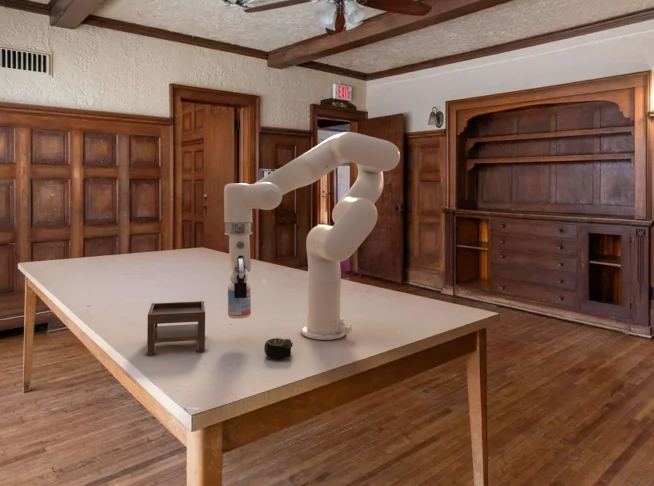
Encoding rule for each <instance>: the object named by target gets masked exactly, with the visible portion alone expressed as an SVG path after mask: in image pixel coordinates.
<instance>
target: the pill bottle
mask: <svg viewBox="0 0 654 486" xmlns="http://www.w3.org/2000/svg"><path fill="white" fill-rule="evenodd" d="M237 275H238V274H237ZM229 277H230V278H229V280H230V282H231V283H229V284H228V286H227V315H228V317H229V318H231V319H236V320H237V319H240V320H241V319H246V318H249V317H250V316H251V313H252V310H251V309H252V308H251V305H252V304H251V302H252V301H251V285H250V284H249V282H247V281H248V278H249V277H248V274H247V273H246V283H247V297H246V298H235V297H234V283H235V274H233V273H232V274H230V275H229Z"/></svg>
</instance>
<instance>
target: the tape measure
mask: <svg viewBox="0 0 654 486" xmlns="http://www.w3.org/2000/svg"><path fill="white" fill-rule="evenodd" d="M293 344H294V343H293V342H292V340H291V339H289V338H286V339H284V338H281V337H275V338H274V337H273V338H270V339H267V340H266V341H265V343H264V349H263V350H264V353H265V356H266V357H268V358H271V359H287V358H290V357H291V355H292V348H293V346H294V345H293Z"/></svg>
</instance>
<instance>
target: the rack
mask: <svg viewBox="0 0 654 486" xmlns="http://www.w3.org/2000/svg"><path fill="white" fill-rule="evenodd" d="M181 323H186V324H181ZM187 323H189V324H187ZM162 324H164V325H162ZM165 324H166V325H165ZM167 324H168V325H167ZM170 324H171V325H170ZM146 330H147V331H146V333H147V336H146V337H147V338H146V339H147V341H146V344H147V347H146V350H147V351H146V356H155V346H156V345H155V344H157V343H173V342H188V341H189V342H190V341H198V343H197V344H198V348H197V349H198V350H197V351H198V353H205V352H206V307H205V301H204V300H200V301H197V300H196V301H176V302H175V301H174V302H151V304H150V307H149V309H148V313H147V329H146Z"/></svg>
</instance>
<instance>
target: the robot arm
mask: <svg viewBox="0 0 654 486" xmlns="http://www.w3.org/2000/svg"><path fill="white" fill-rule="evenodd" d="M400 160H401V153H400V150H399V148H398V147H397V146H396V144H394V143H393V142H391V141H390V140H386V139H382V138H378V137H374V136H369V135H366V134H362V133H360V132H359V133H358V132H354V131H345V132H341V133H337V134H334V135H332V136H330V137H328V138H327V139H325V140H324V141H321V143H318V144H317V145H316V146H314V147H312V148H311V149H309V150H308V151H306V152H304V153H302V154H301V155H299V156H298V157H296V158H294V159H292V160H291V161H289V162H288V163H286V164H284V165H283V166H281V167H279V168H278V169H275V170H274V171H272V172H270V173H269V174H267V175H265V176H263V177H262V178H260V179H259V180H257V181H256V182H254V183H251V184H249V183H245V182H244V183H243V182H241V183H240V182H239V183H237V182H236V183H235V182H234V183H232V182H231V183H227V184H225V185H224V188H223V223H224V224H223V229H224V235H225V236H228V252H229V253H228V254H229V257H228V258H229V266H230V269H231V271H232V275H233V274H235V283H234V297H235V298H246V297H247V283H248V282H247V283H246V274H247V272H251V271H252V265H251V264H252V263H251V244H250V243H251V242H250V235H253V209H256V210H264V211H270V210H274V209H275V208H278V206H279V205H280V204H281V202H282V200H283V196H284V195H286V194H287V193H290V192H292V191H294V190H296V189H300V188H302V187H306V186H309V185H311V184H314V183H315V182H317V181H318V180H320V179H322V178H323V177H324V176H326V175H328V174H329V173H331V172H332V171H334V170H336V169H338V168H339V167H341V166H342V165H344V164H347V163H353V164H355V165H356V166H357V177H356V180H355V182H354V183H353V184H352V186H351V187H350V188H349V189H348V190H347V192H346V193H344V195H343V196H342V197H341V199H340V200H339V201H338V202H337V203H336V204H335V206H334V207H333V208H332V213H331V217H332V218H331V219H332V221H333V223H334V224H333V225H330V224H319V225H316V226H314V227H313V228H311V230H310V231H309V232H308V234H307V236H306V241H305V247H306V248H305V250H306V256H307V316H306V317H307V318H306V319H307V320H306V321H307V325H305V326H303V327H302V329H301V334H302V335H303V336H304V337H306V338H308V339H312V340H317V341H318V340H320V341H331V340H333V341H334V340H338V339H341V338H343V337H344V336H345V335H346V334H349V335H350V334H352V331H353V326H352V324H347V323H344V317H343V318H342V317H341V294H342V293H341V291H342V289H341V288H342V287H341V285H342V284H341V283H342V269H341V263H342V262H344V261H346V260H348V259H349V258H350V257H352V256H353V254H354V253H355V252H356V251H357V250H358V248H359V247H360V246H361V245H362V244H363V242H364V241H365V240H366V238H367V237H368V236H369V235H370V234H371V232H372V231H373V230H374V228H375V226H376V224H377V222H378V210H377V207H376V205H375V204H376V202H378V200H379V199H380V197H381V195H382V193H383V190H384V173H383V172H389V171H391V170H394V169H395V168H396V167H397V166H398V164H399V163H400ZM246 271H247V272H246ZM237 274H238V275H237Z"/></svg>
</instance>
